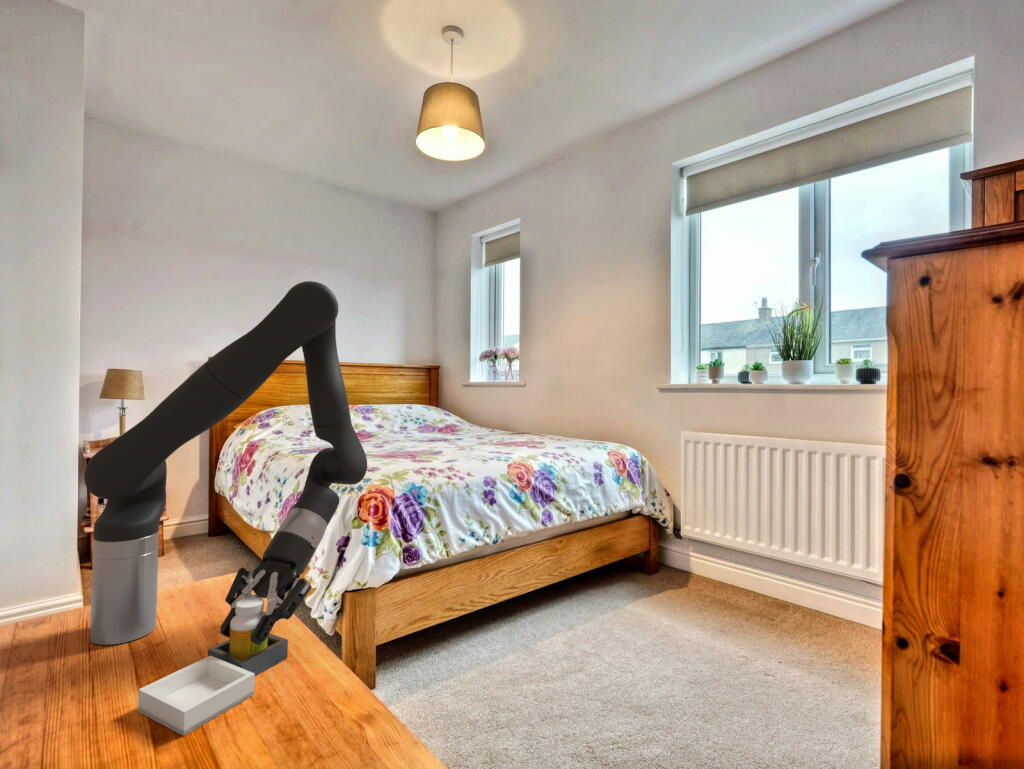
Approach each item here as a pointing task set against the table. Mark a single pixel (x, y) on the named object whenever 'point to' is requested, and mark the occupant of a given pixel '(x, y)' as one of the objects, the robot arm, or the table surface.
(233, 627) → the supplement bottle
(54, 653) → the table surface
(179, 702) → the tray
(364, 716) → the table surface
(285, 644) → the holder sleeve
